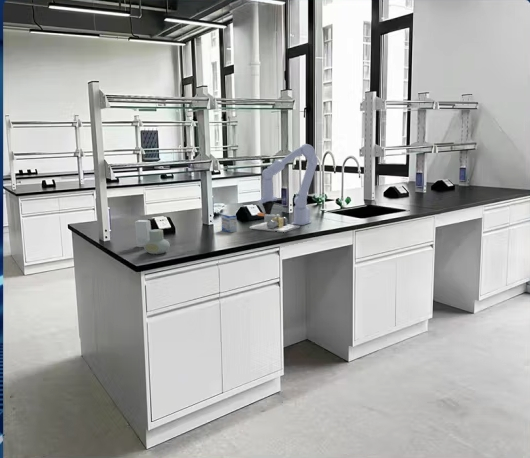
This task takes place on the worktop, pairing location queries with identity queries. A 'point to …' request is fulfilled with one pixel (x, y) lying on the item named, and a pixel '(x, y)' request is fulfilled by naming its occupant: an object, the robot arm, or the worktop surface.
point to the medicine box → (229, 222)
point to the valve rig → (276, 225)
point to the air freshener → (156, 242)
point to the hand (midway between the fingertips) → (268, 214)
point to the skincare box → (142, 232)
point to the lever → (267, 214)
